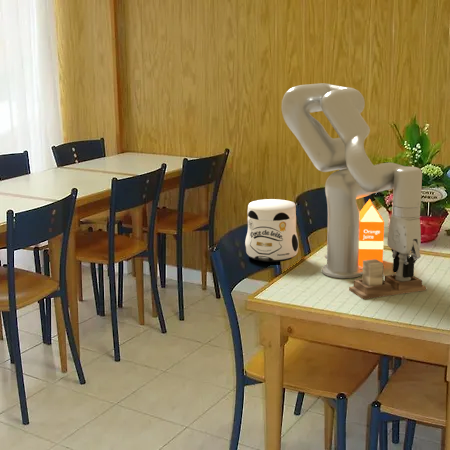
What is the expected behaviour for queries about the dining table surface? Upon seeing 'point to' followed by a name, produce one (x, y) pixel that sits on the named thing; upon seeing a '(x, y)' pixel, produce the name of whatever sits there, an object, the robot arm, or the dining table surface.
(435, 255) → the dining table surface
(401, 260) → the rook chess piece
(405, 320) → the dining table surface
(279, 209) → the milk container
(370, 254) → the orange juice
